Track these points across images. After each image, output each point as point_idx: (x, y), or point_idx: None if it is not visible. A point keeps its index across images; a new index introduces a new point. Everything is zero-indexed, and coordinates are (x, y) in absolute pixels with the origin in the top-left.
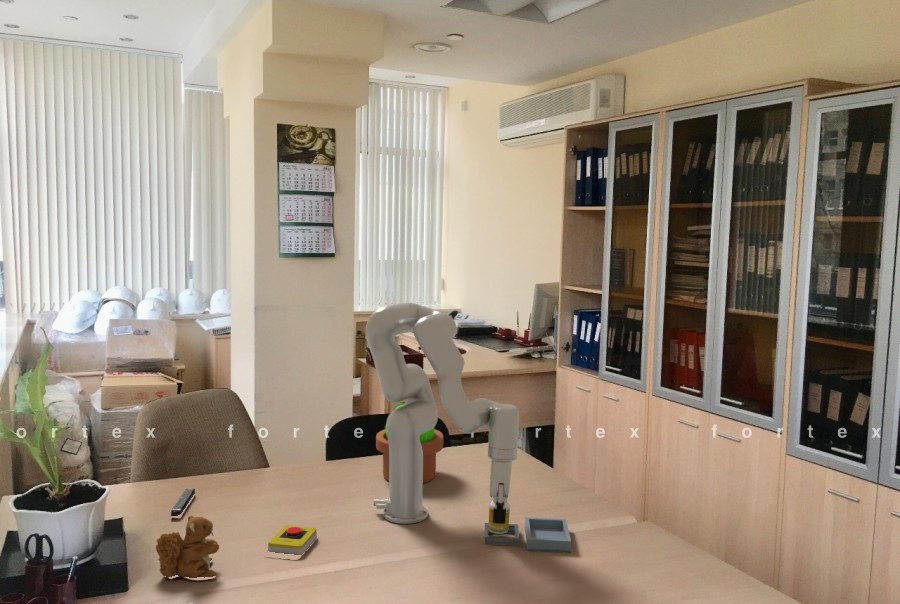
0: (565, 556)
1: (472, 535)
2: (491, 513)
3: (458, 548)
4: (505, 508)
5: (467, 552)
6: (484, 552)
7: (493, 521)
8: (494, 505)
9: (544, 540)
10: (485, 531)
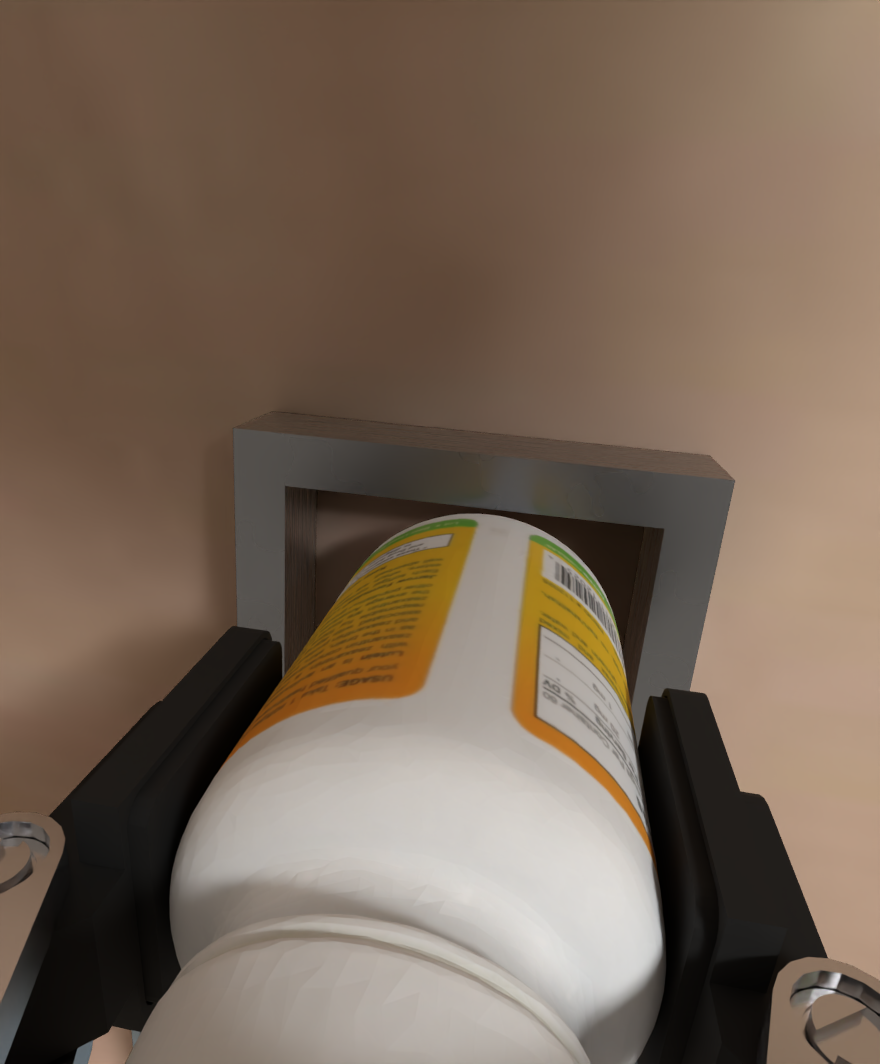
0: (130, 1047)
1: (536, 272)
2: (305, 671)
3: (119, 53)
4: (134, 1023)
5: (33, 186)
6: (73, 400)
7: (229, 639)
8: (215, 854)
9: (135, 1035)
10: (412, 462)
